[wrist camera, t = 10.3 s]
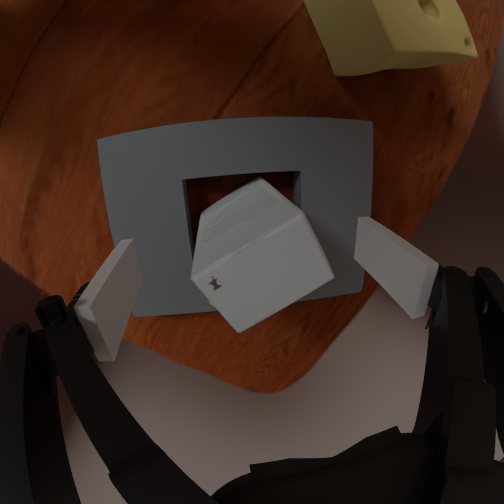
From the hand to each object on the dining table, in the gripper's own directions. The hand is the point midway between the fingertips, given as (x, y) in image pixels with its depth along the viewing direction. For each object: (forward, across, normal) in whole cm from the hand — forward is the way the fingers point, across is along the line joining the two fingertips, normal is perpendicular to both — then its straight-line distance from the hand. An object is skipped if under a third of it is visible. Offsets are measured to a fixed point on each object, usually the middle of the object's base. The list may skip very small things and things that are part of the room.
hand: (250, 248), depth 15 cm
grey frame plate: (+9, 0, -1) cm, 9 cm away
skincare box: (+9, 0, -1) cm, 9 cm away
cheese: (+9, +12, +17) cm, 23 cm away
